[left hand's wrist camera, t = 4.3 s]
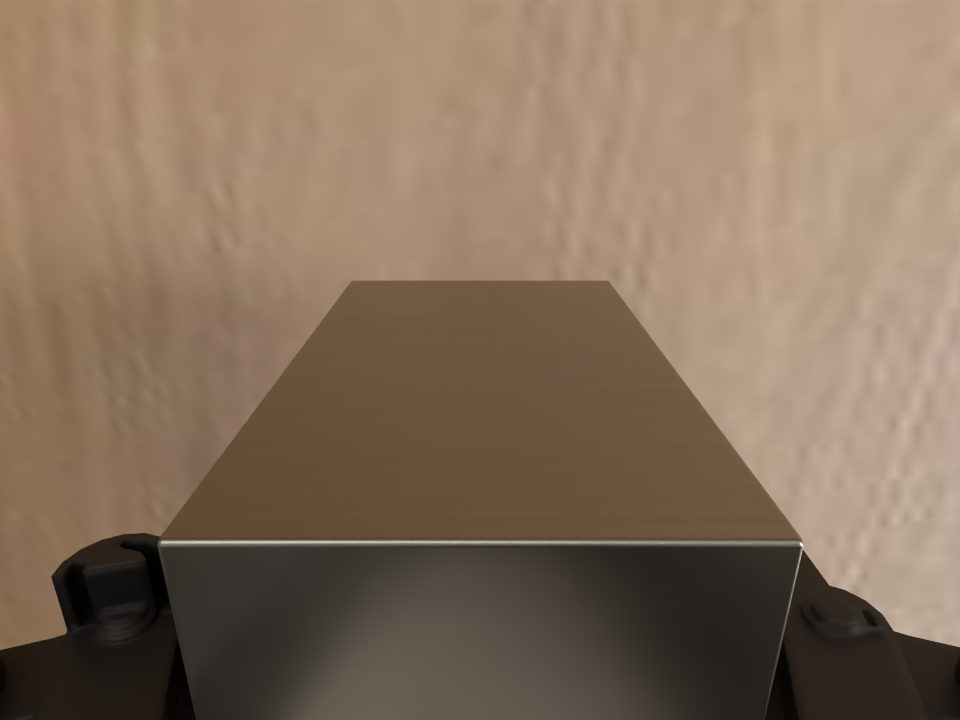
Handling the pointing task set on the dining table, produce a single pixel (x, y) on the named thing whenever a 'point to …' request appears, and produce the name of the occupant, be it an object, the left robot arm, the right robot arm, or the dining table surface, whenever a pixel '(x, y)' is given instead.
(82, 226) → the dining table surface
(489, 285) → the bar
